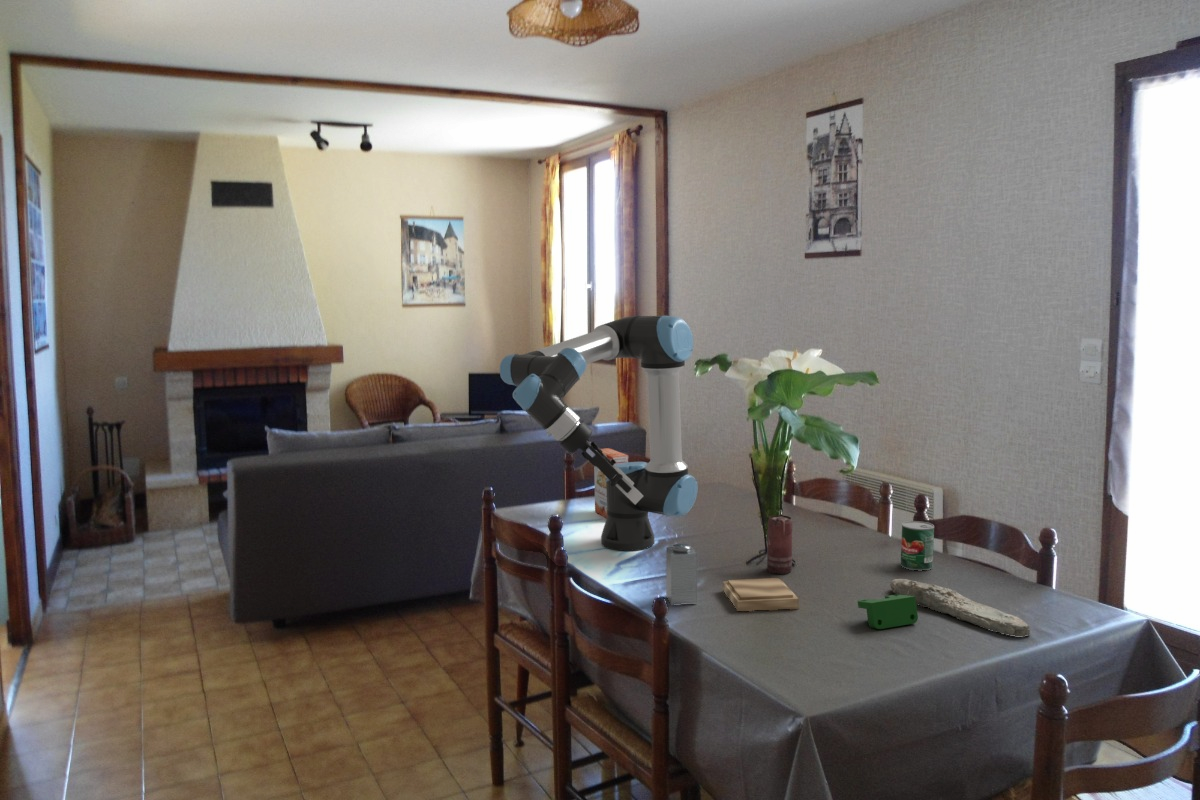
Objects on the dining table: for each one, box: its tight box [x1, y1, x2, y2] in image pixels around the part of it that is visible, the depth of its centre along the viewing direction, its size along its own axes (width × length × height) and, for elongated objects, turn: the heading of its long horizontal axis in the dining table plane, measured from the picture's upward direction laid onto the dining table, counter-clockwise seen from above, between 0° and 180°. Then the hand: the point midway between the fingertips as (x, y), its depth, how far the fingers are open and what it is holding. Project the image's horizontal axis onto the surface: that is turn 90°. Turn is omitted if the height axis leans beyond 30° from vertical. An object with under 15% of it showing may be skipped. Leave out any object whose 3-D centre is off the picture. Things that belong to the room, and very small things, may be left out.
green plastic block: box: [857, 594, 919, 630], centre depth 193 cm, size 12×6×9 cm, turn 104°
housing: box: [665, 543, 698, 607], centre depth 207 cm, size 6×6×13 cm
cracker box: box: [593, 447, 629, 519], centre depth 284 cm, size 14×6×21 cm, turn 25°
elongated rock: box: [889, 578, 1031, 636], centre depth 199 cm, size 35×5×10 cm
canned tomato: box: [900, 520, 935, 572], centre depth 231 cm, size 8×8×11 cm
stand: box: [722, 577, 800, 612], centre depth 208 cm, size 14×14×3 cm
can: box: [766, 514, 793, 575], centre depth 228 cm, size 6×6×14 cm
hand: (634, 493), depth 208 cm, fingers open, 13 cm apart
